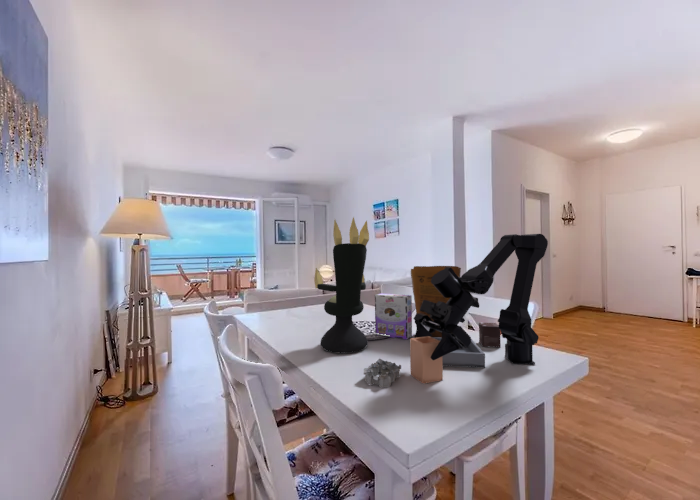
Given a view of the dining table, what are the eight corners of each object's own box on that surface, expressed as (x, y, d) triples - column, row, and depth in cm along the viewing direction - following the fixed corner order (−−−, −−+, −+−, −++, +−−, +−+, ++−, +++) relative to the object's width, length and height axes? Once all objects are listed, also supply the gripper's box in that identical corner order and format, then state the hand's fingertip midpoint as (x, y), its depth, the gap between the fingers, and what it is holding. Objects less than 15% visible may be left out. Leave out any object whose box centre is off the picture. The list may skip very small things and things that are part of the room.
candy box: (412, 336, 123) (412, 294, 123) (407, 340, 118) (406, 296, 118) (381, 332, 130) (380, 292, 130) (374, 335, 125) (374, 294, 125)
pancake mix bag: (459, 343, 114) (458, 266, 114) (410, 335, 125) (409, 265, 125) (463, 338, 119) (463, 265, 119) (416, 331, 130) (416, 264, 130)
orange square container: (429, 371, 87) (428, 336, 87) (442, 380, 82) (442, 341, 82) (410, 375, 85) (410, 338, 85) (422, 383, 79) (422, 344, 79)
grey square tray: (471, 350, 106) (471, 338, 106) (485, 367, 90) (484, 353, 90) (422, 348, 108) (422, 336, 108) (428, 365, 92) (428, 351, 92)
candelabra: (361, 337, 122) (360, 222, 122) (385, 355, 101) (384, 216, 101) (313, 342, 116) (312, 221, 116) (328, 362, 95) (327, 214, 95)
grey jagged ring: (386, 390, 76) (386, 374, 76) (360, 383, 80) (360, 367, 80) (404, 375, 85) (403, 360, 85) (379, 370, 89) (379, 355, 89)
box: (500, 348, 108) (500, 326, 108) (482, 347, 109) (482, 326, 109) (496, 342, 114) (496, 322, 114) (478, 342, 115) (478, 322, 115)
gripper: (418, 285, 93) (386, 326, 90) (461, 293, 76) (422, 344, 72) (441, 310, 96) (410, 350, 92) (487, 323, 79) (451, 373, 75)
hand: (421, 353), depth 83 cm, fingers open, 9 cm apart
